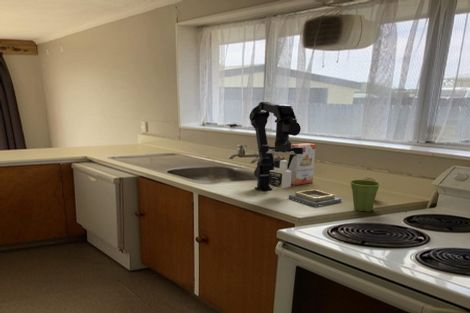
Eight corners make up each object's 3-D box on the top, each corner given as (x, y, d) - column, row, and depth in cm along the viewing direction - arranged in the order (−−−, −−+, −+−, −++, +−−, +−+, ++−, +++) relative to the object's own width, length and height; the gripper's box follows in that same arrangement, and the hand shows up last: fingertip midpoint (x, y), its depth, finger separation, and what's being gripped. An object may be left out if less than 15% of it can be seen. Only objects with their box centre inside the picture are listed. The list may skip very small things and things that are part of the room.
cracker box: (296, 185, 199) (298, 145, 196) (287, 183, 204) (289, 143, 201) (313, 182, 208) (316, 143, 205) (305, 180, 213) (307, 142, 210)
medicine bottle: (268, 186, 173) (269, 159, 172) (278, 183, 178) (279, 158, 177) (281, 188, 168) (282, 161, 167) (291, 186, 174) (292, 160, 172)
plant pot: (353, 203, 167) (355, 178, 165) (381, 209, 160) (383, 182, 159) (343, 209, 157) (345, 182, 156) (373, 215, 151) (375, 187, 149)
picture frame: (288, 198, 173) (289, 191, 173) (314, 194, 182) (314, 187, 182) (315, 207, 160) (315, 199, 160) (341, 202, 169) (341, 195, 169)
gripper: (258, 134, 164) (257, 170, 166) (303, 136, 160) (301, 173, 163) (262, 132, 175) (260, 166, 177) (304, 134, 171) (302, 168, 174)
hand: (280, 168), depth 172 cm, fingers closed on medicine bottle, 6 cm apart
